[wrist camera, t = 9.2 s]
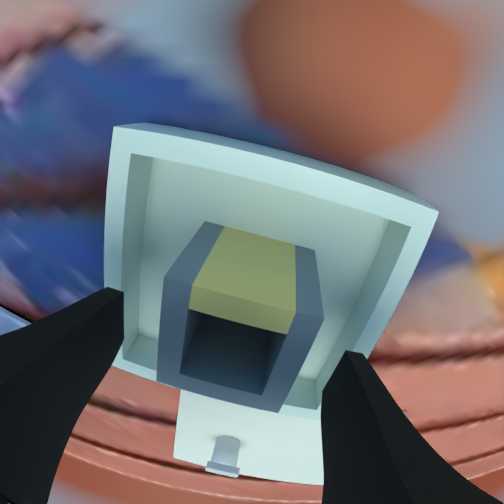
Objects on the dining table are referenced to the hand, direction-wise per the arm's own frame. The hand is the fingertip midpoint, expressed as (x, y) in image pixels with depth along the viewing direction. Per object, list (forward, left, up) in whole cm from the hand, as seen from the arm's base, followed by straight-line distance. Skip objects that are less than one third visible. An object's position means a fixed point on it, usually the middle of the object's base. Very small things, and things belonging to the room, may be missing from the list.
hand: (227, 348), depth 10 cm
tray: (0, 0, -5) cm, 5 cm away
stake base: (+5, -12, -5) cm, 14 cm away
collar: (0, 0, -4) cm, 4 cm away
